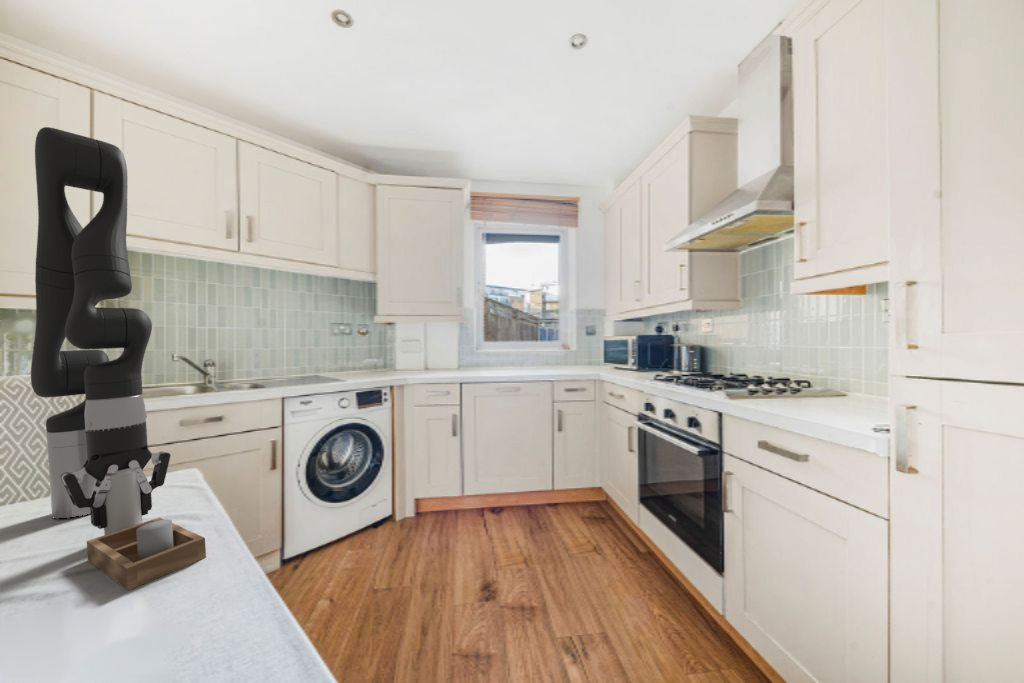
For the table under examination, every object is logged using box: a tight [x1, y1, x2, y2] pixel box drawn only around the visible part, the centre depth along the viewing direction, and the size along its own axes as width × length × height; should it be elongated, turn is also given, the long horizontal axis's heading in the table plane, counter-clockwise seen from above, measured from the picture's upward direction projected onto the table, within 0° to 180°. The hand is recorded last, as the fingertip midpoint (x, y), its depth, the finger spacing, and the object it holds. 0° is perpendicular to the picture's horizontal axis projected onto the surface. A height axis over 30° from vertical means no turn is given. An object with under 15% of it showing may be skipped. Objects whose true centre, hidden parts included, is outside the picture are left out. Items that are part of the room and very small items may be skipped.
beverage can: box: [103, 468, 143, 535], centre depth 70 cm, size 5×5×12 cm
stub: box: [136, 518, 174, 561], centre depth 60 cm, size 4×4×6 cm
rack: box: [86, 517, 207, 591], centre depth 62 cm, size 17×9×3 cm, turn 59°
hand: (122, 520), depth 70 cm, fingers closed on beverage can, 4 cm apart
